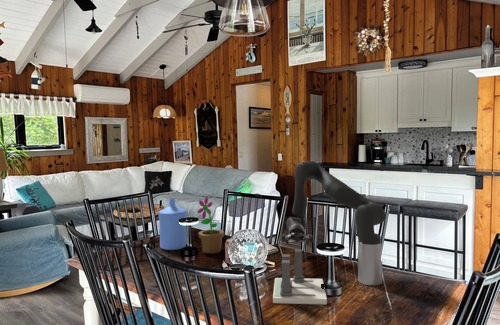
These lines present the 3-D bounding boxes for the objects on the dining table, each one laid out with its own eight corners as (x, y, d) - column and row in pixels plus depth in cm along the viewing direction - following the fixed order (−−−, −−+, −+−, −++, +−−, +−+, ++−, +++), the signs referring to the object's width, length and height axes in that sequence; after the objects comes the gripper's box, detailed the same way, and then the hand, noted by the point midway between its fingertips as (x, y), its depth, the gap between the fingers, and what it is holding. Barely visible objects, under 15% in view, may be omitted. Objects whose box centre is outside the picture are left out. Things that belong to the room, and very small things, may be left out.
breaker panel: (322, 283, 159) (322, 278, 159) (326, 304, 139) (326, 298, 139) (275, 282, 161) (275, 277, 161) (272, 303, 142) (272, 297, 141)
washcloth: (264, 257, 197) (264, 251, 196) (241, 250, 210) (241, 245, 209) (279, 252, 205) (279, 246, 204) (256, 245, 218) (256, 240, 217)
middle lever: (291, 284, 153) (291, 254, 152) (291, 288, 149) (291, 257, 148) (281, 284, 153) (280, 253, 152) (280, 287, 149) (280, 257, 148)
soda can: (237, 266, 182) (237, 242, 182) (223, 265, 184) (223, 241, 183) (241, 261, 189) (240, 238, 189) (227, 261, 191) (227, 237, 190)
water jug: (184, 250, 211) (182, 200, 209) (156, 250, 211) (154, 201, 209) (189, 242, 226) (187, 196, 224) (163, 242, 227) (161, 196, 225)
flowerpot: (210, 245, 219) (209, 194, 217) (229, 249, 211) (228, 196, 209) (193, 251, 208) (191, 198, 205) (213, 256, 199) (211, 200, 197)
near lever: (292, 291, 146) (291, 259, 145) (292, 295, 142) (291, 263, 141) (280, 291, 146) (280, 259, 145) (280, 295, 142) (279, 263, 141)
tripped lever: (303, 277, 159) (303, 248, 158) (304, 281, 155) (303, 251, 154) (293, 277, 159) (292, 248, 159) (293, 281, 155) (292, 251, 155)
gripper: (282, 224, 185) (281, 233, 169) (311, 225, 184) (313, 234, 167) (282, 239, 186) (281, 250, 170) (311, 240, 184) (313, 250, 168)
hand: (297, 242), depth 169 cm, fingers open, 8 cm apart
